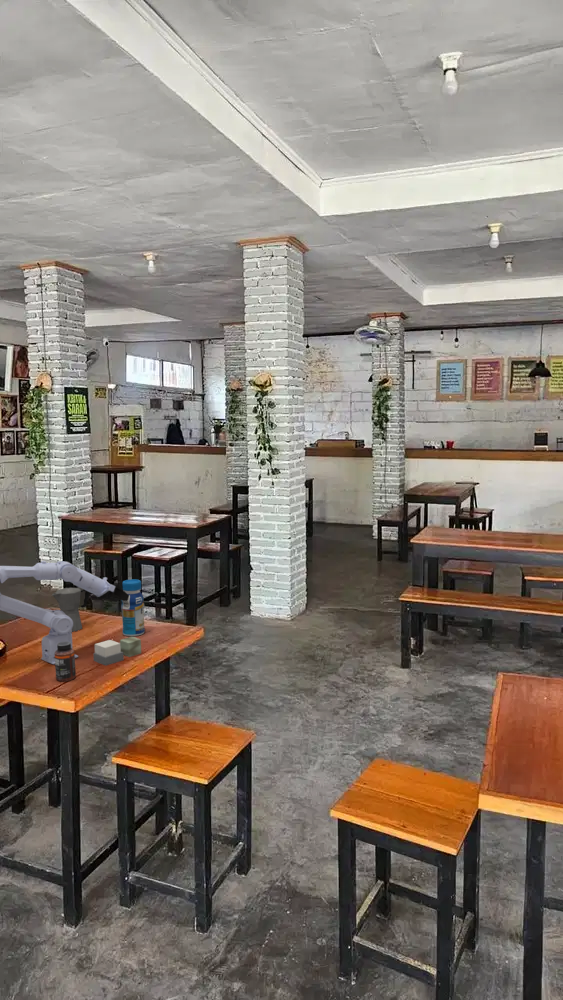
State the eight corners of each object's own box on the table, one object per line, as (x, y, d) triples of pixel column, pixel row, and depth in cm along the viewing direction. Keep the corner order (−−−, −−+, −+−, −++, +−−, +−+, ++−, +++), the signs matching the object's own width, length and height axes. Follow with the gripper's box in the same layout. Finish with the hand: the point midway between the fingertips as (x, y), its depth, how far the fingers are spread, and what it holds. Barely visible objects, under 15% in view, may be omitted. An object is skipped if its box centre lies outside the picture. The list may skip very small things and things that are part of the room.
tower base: (105, 666, 230) (105, 657, 229) (93, 661, 234) (93, 653, 234) (123, 660, 235) (123, 652, 234) (111, 656, 239) (111, 647, 239)
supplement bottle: (73, 673, 223) (72, 639, 221) (77, 679, 217) (76, 644, 216) (54, 677, 220) (52, 642, 218) (57, 683, 215) (56, 647, 213)
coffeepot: (59, 635, 262) (57, 588, 260) (48, 630, 269) (46, 584, 267) (97, 626, 272) (95, 581, 270) (85, 621, 279) (83, 577, 277)
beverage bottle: (120, 631, 265) (118, 580, 263) (142, 628, 269) (140, 577, 266) (124, 638, 258) (122, 584, 255) (147, 635, 261) (145, 582, 259)
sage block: (129, 657, 237) (128, 643, 237) (120, 654, 241) (119, 640, 240) (141, 653, 241) (140, 639, 240) (132, 650, 244) (132, 636, 244)
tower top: (105, 656, 230) (104, 647, 230) (94, 652, 234) (94, 644, 234) (120, 652, 234) (120, 643, 234) (110, 648, 238) (109, 639, 238)
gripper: (103, 570, 236) (136, 587, 243) (85, 573, 247) (117, 589, 254) (95, 589, 233) (128, 606, 240) (76, 591, 244) (109, 607, 251)
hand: (122, 598), depth 247 cm, fingers open, 7 cm apart
